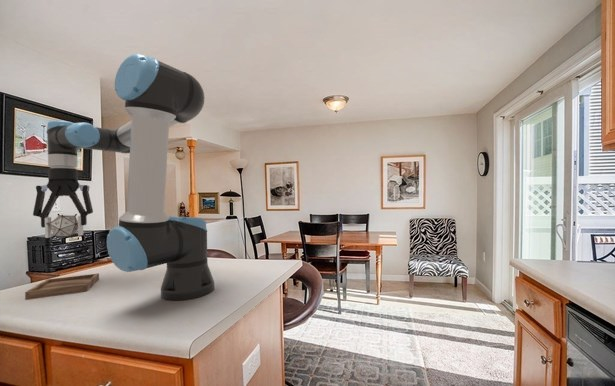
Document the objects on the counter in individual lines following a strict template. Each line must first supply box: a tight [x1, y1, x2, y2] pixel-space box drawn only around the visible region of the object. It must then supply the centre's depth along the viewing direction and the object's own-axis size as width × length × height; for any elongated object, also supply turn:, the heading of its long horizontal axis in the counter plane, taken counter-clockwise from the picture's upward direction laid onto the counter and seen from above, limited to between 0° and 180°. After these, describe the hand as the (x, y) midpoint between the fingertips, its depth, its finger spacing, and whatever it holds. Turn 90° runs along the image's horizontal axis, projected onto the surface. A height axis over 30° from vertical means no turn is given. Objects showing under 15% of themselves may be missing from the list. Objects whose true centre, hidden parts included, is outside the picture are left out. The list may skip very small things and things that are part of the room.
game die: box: [46, 213, 78, 239], centre depth 96 cm, size 9×8×10 cm
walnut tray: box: [24, 273, 100, 300], centre depth 96 cm, size 15×15×2 cm
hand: (64, 236), depth 96 cm, fingers closed on game die, 8 cm apart
